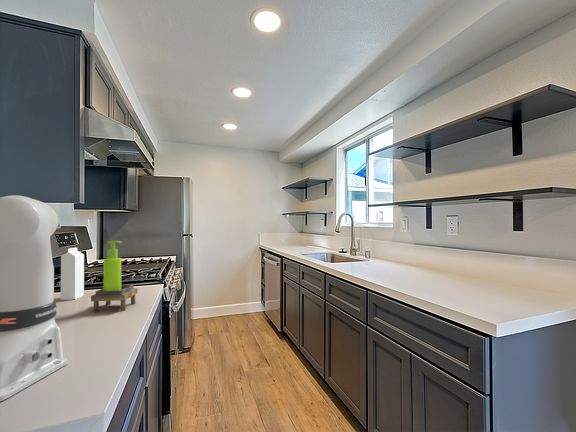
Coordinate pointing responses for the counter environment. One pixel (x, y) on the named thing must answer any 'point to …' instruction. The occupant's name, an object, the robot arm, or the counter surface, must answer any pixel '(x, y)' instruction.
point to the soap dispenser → (112, 269)
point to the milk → (72, 275)
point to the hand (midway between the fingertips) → (50, 226)
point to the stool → (114, 296)
